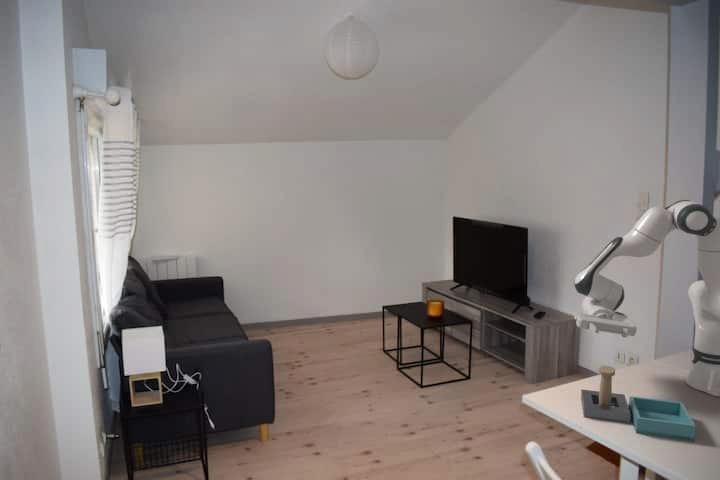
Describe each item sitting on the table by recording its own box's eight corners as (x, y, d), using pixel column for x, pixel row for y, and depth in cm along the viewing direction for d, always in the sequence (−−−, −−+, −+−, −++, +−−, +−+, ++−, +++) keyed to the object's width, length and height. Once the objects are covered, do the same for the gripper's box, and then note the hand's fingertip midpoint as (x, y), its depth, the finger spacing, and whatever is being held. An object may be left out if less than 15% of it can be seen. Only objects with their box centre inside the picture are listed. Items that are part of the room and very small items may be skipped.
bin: (681, 416, 179) (682, 402, 178) (693, 441, 164) (695, 426, 163) (628, 409, 184) (629, 396, 183) (636, 432, 169) (637, 418, 168)
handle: (613, 408, 185) (616, 367, 182) (609, 416, 180) (612, 374, 177) (598, 404, 188) (601, 364, 185) (594, 412, 183) (597, 370, 180)
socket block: (623, 403, 188) (624, 394, 188) (629, 423, 175) (630, 413, 175) (580, 398, 193) (581, 389, 192) (583, 416, 180) (584, 407, 179)
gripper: (574, 306, 202) (582, 320, 189) (630, 315, 199) (643, 329, 186) (570, 322, 204) (578, 336, 191) (627, 330, 201) (639, 345, 188)
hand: (611, 333), depth 188 cm, fingers open, 8 cm apart
